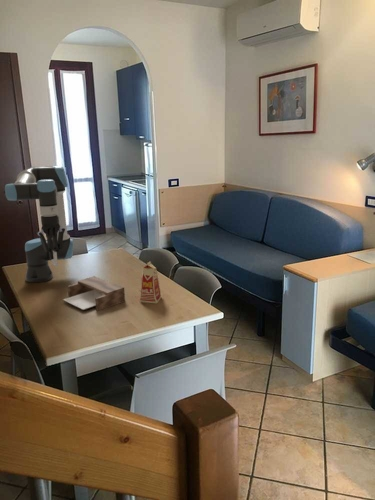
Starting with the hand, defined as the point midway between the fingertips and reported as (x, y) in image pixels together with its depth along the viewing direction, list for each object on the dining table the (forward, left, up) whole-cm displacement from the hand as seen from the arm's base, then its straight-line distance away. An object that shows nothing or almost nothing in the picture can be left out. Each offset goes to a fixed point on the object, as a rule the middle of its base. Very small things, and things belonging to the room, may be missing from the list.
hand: (55, 265), depth 189 cm
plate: (+2, +15, -23) cm, 27 cm away
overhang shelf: (+1, +20, -22) cm, 30 cm away
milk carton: (+22, +38, -23) cm, 49 cm away
